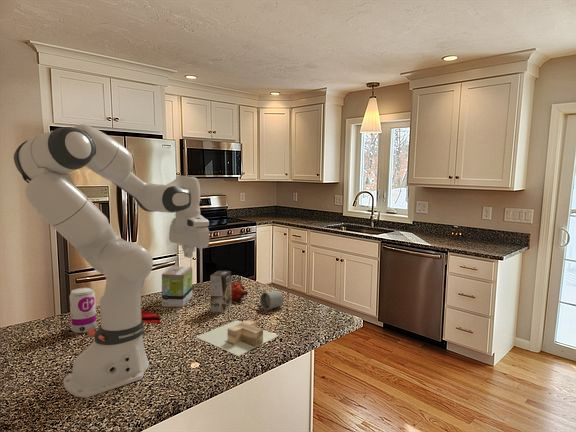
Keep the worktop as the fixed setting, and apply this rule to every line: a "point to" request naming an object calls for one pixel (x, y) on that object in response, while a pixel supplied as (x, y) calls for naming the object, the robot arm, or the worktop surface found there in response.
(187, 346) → the worktop surface
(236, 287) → the dragon fruit
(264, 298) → the ceramic mug
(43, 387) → the worktop surface
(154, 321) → the cloth
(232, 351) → the sage board
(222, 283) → the coffee box
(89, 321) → the supplement can
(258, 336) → the maple T block
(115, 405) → the worktop surface
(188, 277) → the tea box
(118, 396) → the worktop surface
